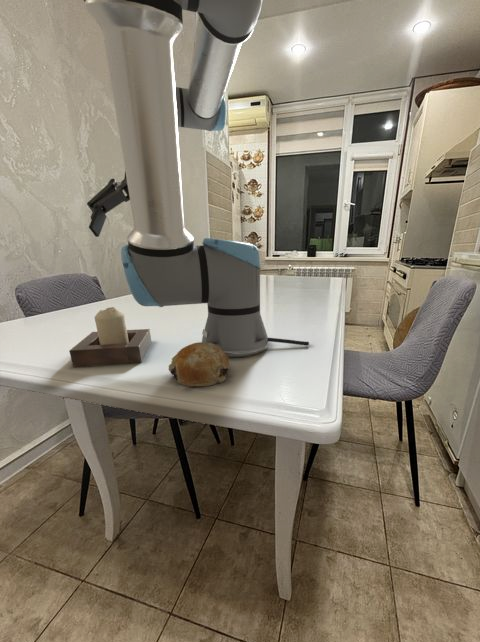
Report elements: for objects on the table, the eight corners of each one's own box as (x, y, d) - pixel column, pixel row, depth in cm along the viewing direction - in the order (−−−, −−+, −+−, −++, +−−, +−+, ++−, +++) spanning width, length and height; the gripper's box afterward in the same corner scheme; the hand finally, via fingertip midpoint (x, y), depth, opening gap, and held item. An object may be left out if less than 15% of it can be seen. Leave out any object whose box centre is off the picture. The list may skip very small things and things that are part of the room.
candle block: (151, 342, 70) (149, 328, 69) (141, 362, 59) (138, 346, 57) (95, 346, 68) (92, 331, 67) (73, 367, 56) (68, 350, 55)
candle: (112, 348, 66) (104, 305, 63) (135, 349, 65) (128, 306, 62) (96, 357, 61) (86, 311, 58) (121, 359, 60) (112, 311, 57)
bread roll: (208, 409, 49) (225, 372, 46) (154, 381, 49) (168, 341, 46) (226, 383, 58) (242, 350, 55) (181, 359, 58) (194, 325, 55)
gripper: (196, 183, 76) (182, 244, 67) (104, 184, 78) (80, 244, 69) (188, 153, 69) (172, 217, 60) (88, 156, 71) (58, 218, 62)
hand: (123, 232), depth 64 cm, fingers open, 13 cm apart
